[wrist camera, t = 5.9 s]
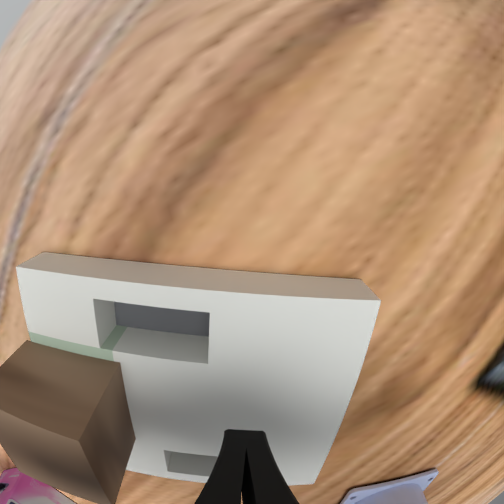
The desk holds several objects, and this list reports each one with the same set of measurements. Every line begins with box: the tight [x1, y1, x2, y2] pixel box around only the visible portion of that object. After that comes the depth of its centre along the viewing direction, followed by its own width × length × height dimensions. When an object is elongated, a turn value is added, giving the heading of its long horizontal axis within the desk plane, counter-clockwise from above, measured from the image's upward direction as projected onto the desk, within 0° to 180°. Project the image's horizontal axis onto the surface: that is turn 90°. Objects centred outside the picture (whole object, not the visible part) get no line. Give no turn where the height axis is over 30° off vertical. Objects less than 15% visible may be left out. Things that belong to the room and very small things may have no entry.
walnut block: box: [0, 340, 136, 504], centre depth 8 cm, size 4×4×4 cm
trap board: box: [16, 252, 381, 485], centre depth 12 cm, size 11×13×2 cm
